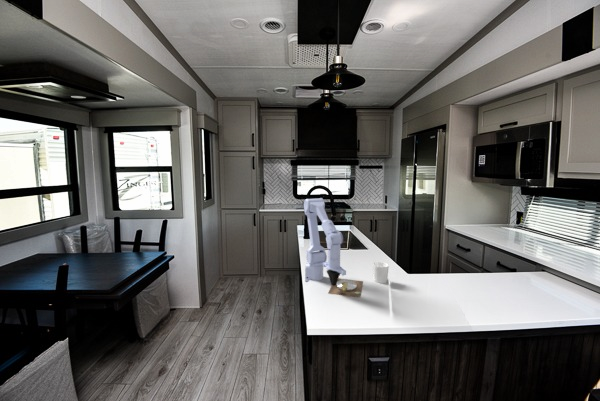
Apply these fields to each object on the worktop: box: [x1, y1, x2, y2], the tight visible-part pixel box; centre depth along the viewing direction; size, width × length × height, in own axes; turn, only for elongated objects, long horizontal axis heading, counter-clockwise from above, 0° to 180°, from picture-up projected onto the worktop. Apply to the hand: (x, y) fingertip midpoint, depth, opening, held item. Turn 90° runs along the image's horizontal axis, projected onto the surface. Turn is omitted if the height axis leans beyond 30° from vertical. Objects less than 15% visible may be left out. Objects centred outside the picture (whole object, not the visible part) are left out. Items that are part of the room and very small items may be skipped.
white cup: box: [372, 261, 390, 284], centre depth 145 cm, size 8×8×10 cm
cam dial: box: [336, 279, 357, 292], centre depth 135 cm, size 15×10×5 cm
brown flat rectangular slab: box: [327, 277, 364, 299], centre depth 137 cm, size 15×19×2 cm
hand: (333, 284), depth 132 cm, fingers closed
